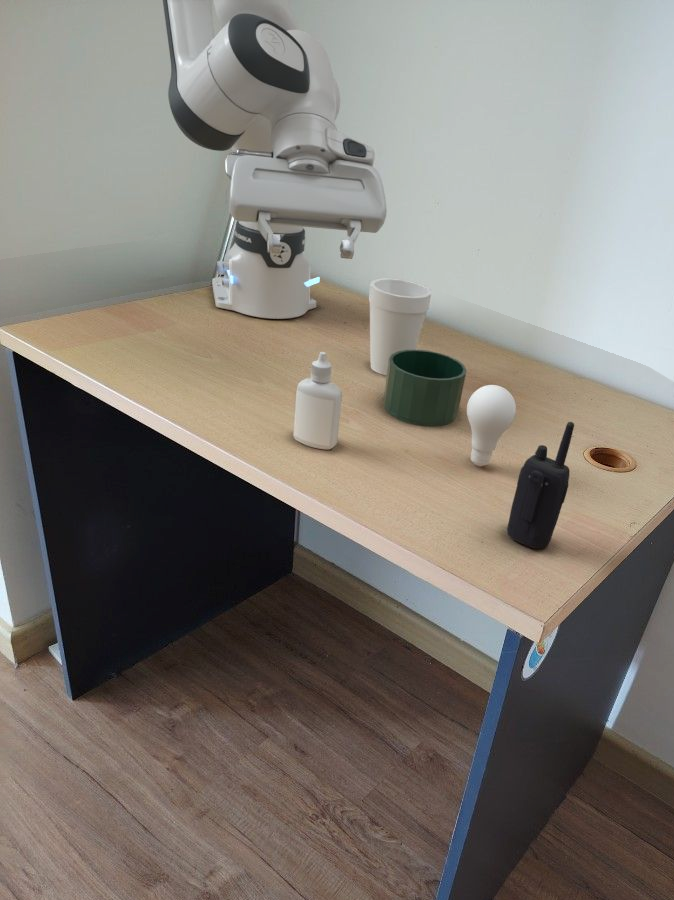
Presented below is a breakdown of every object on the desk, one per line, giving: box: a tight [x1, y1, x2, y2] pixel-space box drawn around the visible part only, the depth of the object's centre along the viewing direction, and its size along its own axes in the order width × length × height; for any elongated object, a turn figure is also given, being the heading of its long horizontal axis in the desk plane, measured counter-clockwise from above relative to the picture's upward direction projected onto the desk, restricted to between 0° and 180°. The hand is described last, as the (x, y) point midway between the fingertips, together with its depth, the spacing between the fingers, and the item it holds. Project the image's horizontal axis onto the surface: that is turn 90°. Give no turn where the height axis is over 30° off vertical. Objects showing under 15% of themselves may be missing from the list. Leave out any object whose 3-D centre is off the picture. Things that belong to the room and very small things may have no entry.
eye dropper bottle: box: [292, 351, 343, 450], centre depth 95 cm, size 4×6×12 cm
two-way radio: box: [506, 421, 575, 550], centre depth 81 cm, size 6×4×15 cm
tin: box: [382, 349, 468, 427], centre depth 109 cm, size 11×11×7 cm
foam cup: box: [368, 277, 432, 376], centre depth 119 cm, size 10×9×13 cm
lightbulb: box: [466, 384, 517, 468], centre depth 96 cm, size 6×6×11 cm
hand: (311, 253), depth 97 cm, fingers open, 8 cm apart
